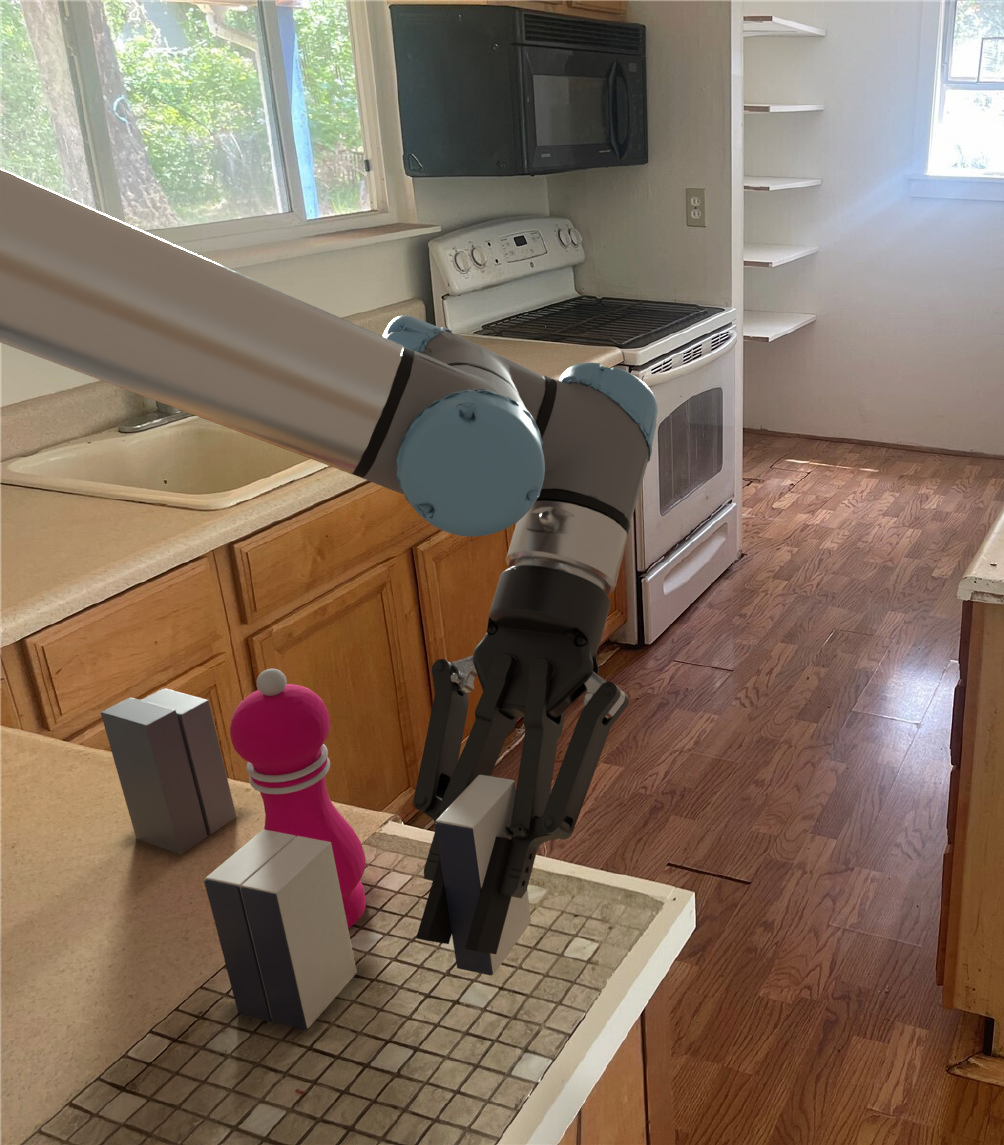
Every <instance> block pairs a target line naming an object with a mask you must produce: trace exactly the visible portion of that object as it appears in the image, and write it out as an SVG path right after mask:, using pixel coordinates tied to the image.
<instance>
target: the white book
mask: <svg viewBox="0 0 1004 1145" xmlns="http://www.w3.org/2000/svg"><path fill="white" fill-rule="evenodd" d="M516 788H517V787H516V781H515V780H514V779H509V778H503V777H496V776H492V775H491V776H485V775H478V776H477V777H476V778H475V780H474V781H473V782H472V783H471V784H470V785H469V786H468V787H467V788H466V789H465V790H464V791H463V792H462V793H461V794H460V795H459V797H458V798H457V799H456V800H455V801H454V802H453V803H452V804H451V805H450V806H449V807H448V808H447V809H446V810H445V811H444V812H443V813H442V815H441V816H440V817H439V818H438V819H437V820H436V823H435V822H434V828H435V829H436V835H437V841H438V848H439V854H440V861H441V867H442V874H443V880H444V887H445V893H446V900H447V906H448V913H449V919H450V925H451V932H452V934H451V938H452V944H453V950H454V958H455V963H456V969H458V970H463V971H468V972H472V973H476V974H482V975H486V976H491V977H492V976H494V975H495V974H496V972H497V971H498V970H499V969H500V967H501V966H502V964H503V963H504V961H505V959H506V958H507V957H508V955H509V954H510V953H511V951H512V950H513V948H514V947H515V946H516V944H517V943H518V941H519V940H520V939H521V937H522V935H523V934H524V933H525V931H526V930H527V928H528V927H529V926H530V924H531V923H532V917H531V908H530V900H529V892H528V890H529V889H527V891H526V892H525V894H524V895H523V897H522V898H516V897H511V901H510V904H509V908H508V912H507V916H506V919H505V923H504V927H503V931H502V935H501V938H500V942H499V946H498V950H497V953H496V954H491V953H484V952H478V951H473V950H468V949H465V946H466V943H467V939H468V935H469V932H470V928H471V924H472V921H473V917H474V914H475V910H476V906H477V903H478V899H479V895H480V892H481V888H482V885H483V882H484V878H485V875H486V871H487V867H488V864H489V860H490V856H491V853H492V849H493V846H494V842H495V838H496V836H497V837H502V838H507V839H510V840H511V838H512V837H510V836H509V835H507V834H506V831H505V827H510V826H511V820H512V813H513V807H514V801H515V794H516Z"/></svg>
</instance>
